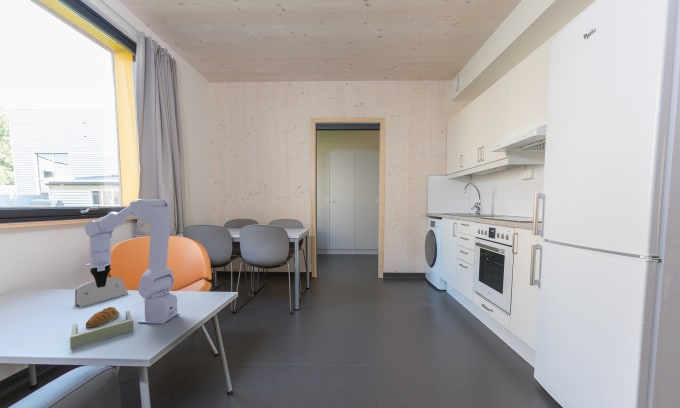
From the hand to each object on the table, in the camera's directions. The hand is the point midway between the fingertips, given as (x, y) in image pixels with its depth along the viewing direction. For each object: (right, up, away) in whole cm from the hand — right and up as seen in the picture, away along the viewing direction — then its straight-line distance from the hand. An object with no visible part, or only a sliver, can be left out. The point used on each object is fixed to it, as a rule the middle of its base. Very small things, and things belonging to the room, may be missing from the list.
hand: (101, 285), depth 95 cm
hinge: (-13, -11, +13) cm, 22 cm away
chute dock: (+15, -11, -14) cm, 23 cm away
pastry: (+7, -11, -6) cm, 15 cm away
